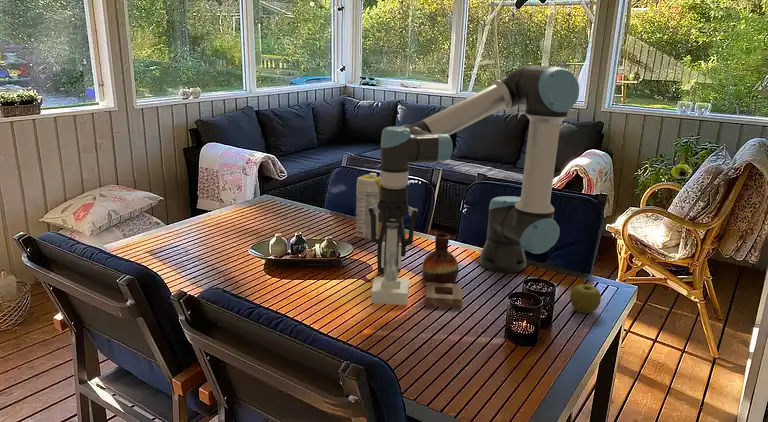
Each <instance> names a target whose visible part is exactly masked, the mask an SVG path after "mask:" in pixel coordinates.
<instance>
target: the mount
mask: <svg viewBox="0 0 768 422" xmlns="http://www.w3.org/2000/svg"><path fill="white" fill-rule="evenodd" d="M425 282H426V281H425ZM424 302H425V303H424V305H425V306H427V307H439V308H441V307H442V308H443V307H444V308H458V309H462V308H463V293H462V284H461V283H453V284H448V283H432V282H426V283H425V301H424Z"/></svg>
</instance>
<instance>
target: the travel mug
mask: <svg viewBox="0 0 768 422" xmlns="http://www.w3.org/2000/svg"><path fill="white" fill-rule="evenodd" d="M403 216H404V215H403ZM403 216H402V219H404V218H403ZM383 219H384V216H383V214H382V213H381V212H380V211H379V214H378V238H379V235H380V231H381V227H382V223H383ZM383 242H385V234H384V238H383ZM399 243H401V240H400V236H399ZM376 245H377V247H376V249H377V250H376V251H377V254H376V256H377V257H376V258H377V263H376V264H377V267H376V268H377V274H380V275H381V274H382V275H384V268H381V255H378V244H377V243H376ZM400 272H401V269H398V274H400Z"/></svg>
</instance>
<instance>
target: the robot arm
mask: <svg viewBox="0 0 768 422" xmlns="http://www.w3.org/2000/svg"><path fill="white" fill-rule="evenodd" d="M579 97H580V84H579V81H578V79H577V77H576V76H575V74H574V73H573V72H572V71H571V70H569V69H566V68H563V67H560V66H556V65H555V66H548V65H546V66H545V65H537V64H530V65H525V66H521V67H519V68H517V69H515V70H513V71H511V72H508V73H506V74H504V75H503V76H500V77H498V78H497V79H495V80H493V81H492V82H491V85H490V86H488V87H485V88H484V89H482V90H480V91H478V92H476V93H474V94H472V95H470V96H468V97H466V98H464V99H462V100H460V101H458V102H455V104H452V105H450V106H448V107H446V108H444V109H442V110H440V111H438V112H437V113H434V114H432V115H430V116H428V117H426V118H424V119H422V120H420V121H418V122H416V123H413V124H403V125H401V126H386V127H384V128H383V129H382V131H381V138H380V171H379V173H380V174H379V177H380V184H381V186H380V201H379V203H378V205H376V206H370V207H369V213H370V216H371V240H370V241H371V243H376V245H377V244H378V255H381V268H384V254H385V242H383V238H384V234H385V229H386V226H385V222H387V221H388V219H395V220H397V223H400V227H398V228H399V234H400V240H401V243H399V251H398V269H400V270H401V267H402V257H403V258H404V257H406V254H407V251H406V250H407V249H406V248H407V246H408V245H413V242H414V229H415V221H416V220H415V219H416V216H417V215H418V208H417V207H414V208H413V207H411V206H410V204H409V203H408V198H409V197H408V196H409V195H408V192H409V191H408V190H409V187H408V184H409V174H410V173H409V172H410V169H409V168H410V164H415V163H417V164H418V163H419V164H420V163H441V162H447V161H448V160H450V159H451V158H452V156H453V155H452V154H453V149H454V148H453V147H454V145H453V140H452V138H451V135H453V134H455V133H457V132H458V131H461V130H463V129H464V128H466V127H468V126H471V125H473V124H474V123H476V122H478V121H480V120H483V119H484V118H487V117H488V116H491V115H492V114H494V113H496V112H498V111H500V110H506V111H507V110H508V111H509V109H511V108H514V107H517V106H524V105H525V113H524V115H525V116H526V118H528V120H529V126H528V134H527V141H526V143H527V144H526V151H525V158H524V159H525V160H524V167H523V175H522V182H521V183H522V184H521V192H520V193H521V194H520V196H512V195H511V196H510V195H509V196H508V195H506V196H505V195H504V196H496V197H494V198H491V200H490V203H489V206H488V217H487V218H488V220H487V233H486V241H485V244H484V246H483V248H482V250H481V252H480V255H479V264H480V266H482V267H483V268H484V269H487V270H489V271H493V272H496V271H497V273H504V274H505V273H506V274H508V273H509V274H511V273H510V272H514V273H518V271H519V272H521V270H522V271H523V269H524V268H525V269H526V266H527V257H526V253H525V251H527V252H529V253H530V254H543V253H545V252H548V251H549V250H550V249H551V248H552V247H554V246H555V244H556V243H557V241H558V240H559V237H560V226H559V224H558V223H557V222H556V220H554V216H555V207H554V206H553V205H552V203H551V199H552V198H551V196H552V189H553V183H554V177H555V176H554V175H555V167H556V160H557V153H558V147H559V137H560V129H561V123H562V122H563V121H564V120H566V119H567V118H568V112H569V111H570V110H571V109H572V108H573V107H574V105H576V103H577V102H578V99H579ZM378 209H379V210H380V212H381V213H382V214H383V216H384V219H383V223H382V227H381V231H380V235H379V238H378V237H377V236H376V214H377V210H378ZM407 212H408V216H410V218H409V227H408V237H407V238H406V233H405V226H404V220H403V219H404V218H403V219H402V216H404V215H405V214H406V213H407ZM525 269H524V270H525Z"/></svg>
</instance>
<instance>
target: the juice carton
mask: <svg viewBox="0 0 768 422" xmlns="http://www.w3.org/2000/svg"><path fill="white" fill-rule="evenodd" d="M380 186H381V184H380V176H377V173H376V172H375V173H374V172H370V173H369V174H364V175H360V176H359V177H357V178H356V190H355V191H356V194H355V195H356V196H355V197H356V199H355V200H356V202H355V205H356V206H355V207H356V209H355V212H356V213H355V228H356V229H355V231H356V233H355V234H356V237H358V238H362V239H366V240H370V241H371V216H370V213H369V207H370V206H376V205H378V203H379V201H380ZM379 211H380V210H379V209H378V210H377V214H376V236H377V237H378V214H379Z"/></svg>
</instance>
